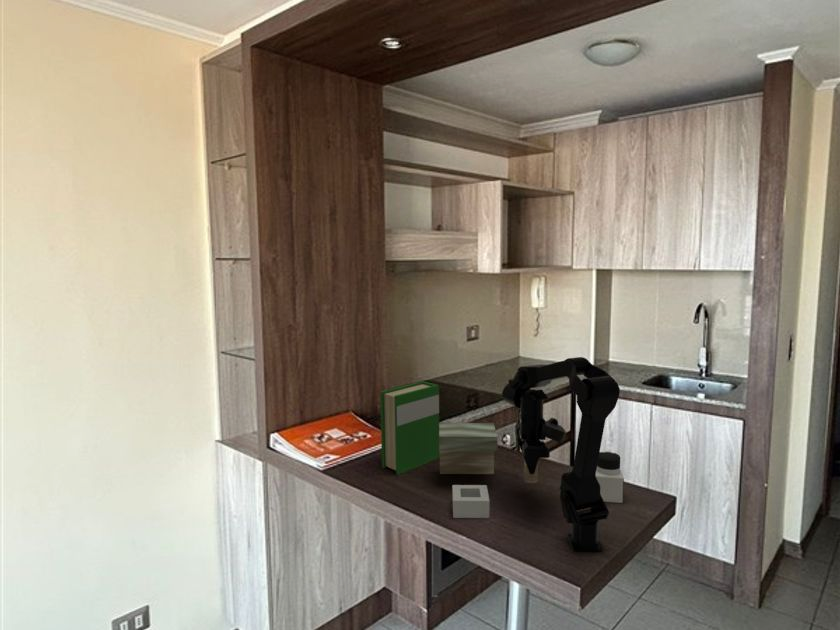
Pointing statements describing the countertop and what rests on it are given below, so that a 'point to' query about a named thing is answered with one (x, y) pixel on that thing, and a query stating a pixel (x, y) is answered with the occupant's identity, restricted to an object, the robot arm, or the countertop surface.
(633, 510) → the countertop surface
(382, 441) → the hardback book
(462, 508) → the socket block
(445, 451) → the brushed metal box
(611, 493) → the medicine bottle
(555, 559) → the countertop surface
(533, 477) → the peg
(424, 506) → the countertop surface
